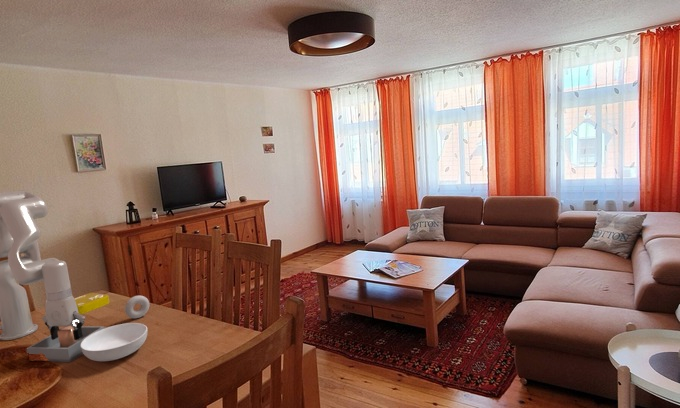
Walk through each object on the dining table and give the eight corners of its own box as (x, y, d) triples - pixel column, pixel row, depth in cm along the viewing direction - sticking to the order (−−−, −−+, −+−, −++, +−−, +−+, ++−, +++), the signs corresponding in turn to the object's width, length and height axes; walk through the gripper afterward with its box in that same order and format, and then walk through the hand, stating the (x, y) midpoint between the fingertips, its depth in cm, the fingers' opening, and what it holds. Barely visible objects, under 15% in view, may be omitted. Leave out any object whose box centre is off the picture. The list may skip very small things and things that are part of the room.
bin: (29, 361, 139) (26, 348, 138) (69, 338, 155) (66, 326, 154) (70, 362, 136) (67, 348, 135) (106, 338, 152) (104, 326, 152)
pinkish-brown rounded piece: (57, 350, 143) (53, 332, 142) (68, 343, 148) (65, 326, 147) (69, 350, 142) (65, 332, 141) (80, 343, 147) (77, 326, 146)
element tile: (92, 300, 198) (90, 291, 198) (111, 303, 192) (110, 293, 191) (61, 312, 185) (59, 302, 184) (80, 315, 179) (79, 305, 178)
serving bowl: (103, 375, 126) (99, 356, 125) (72, 361, 137) (68, 342, 136) (161, 345, 143) (159, 328, 142) (129, 335, 154) (127, 318, 153)
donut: (128, 322, 166) (124, 300, 164) (125, 320, 168) (121, 298, 167) (152, 314, 173) (149, 293, 171) (149, 312, 175) (146, 291, 174)
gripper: (29, 298, 140) (38, 342, 143) (71, 298, 137) (79, 343, 140) (48, 290, 148) (56, 333, 150) (88, 290, 145) (95, 333, 147)
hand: (67, 338), depth 145 cm, fingers open, 9 cm apart
